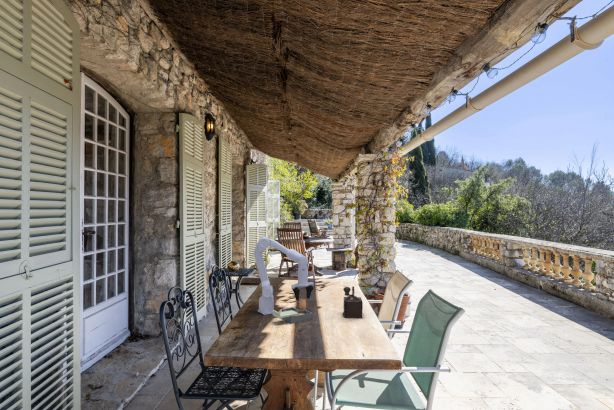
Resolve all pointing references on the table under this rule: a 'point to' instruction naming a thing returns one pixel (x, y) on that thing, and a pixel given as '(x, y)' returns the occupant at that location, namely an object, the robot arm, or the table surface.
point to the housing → (302, 315)
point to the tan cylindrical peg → (302, 304)
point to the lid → (284, 313)
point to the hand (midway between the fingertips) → (302, 299)
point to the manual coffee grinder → (352, 304)
